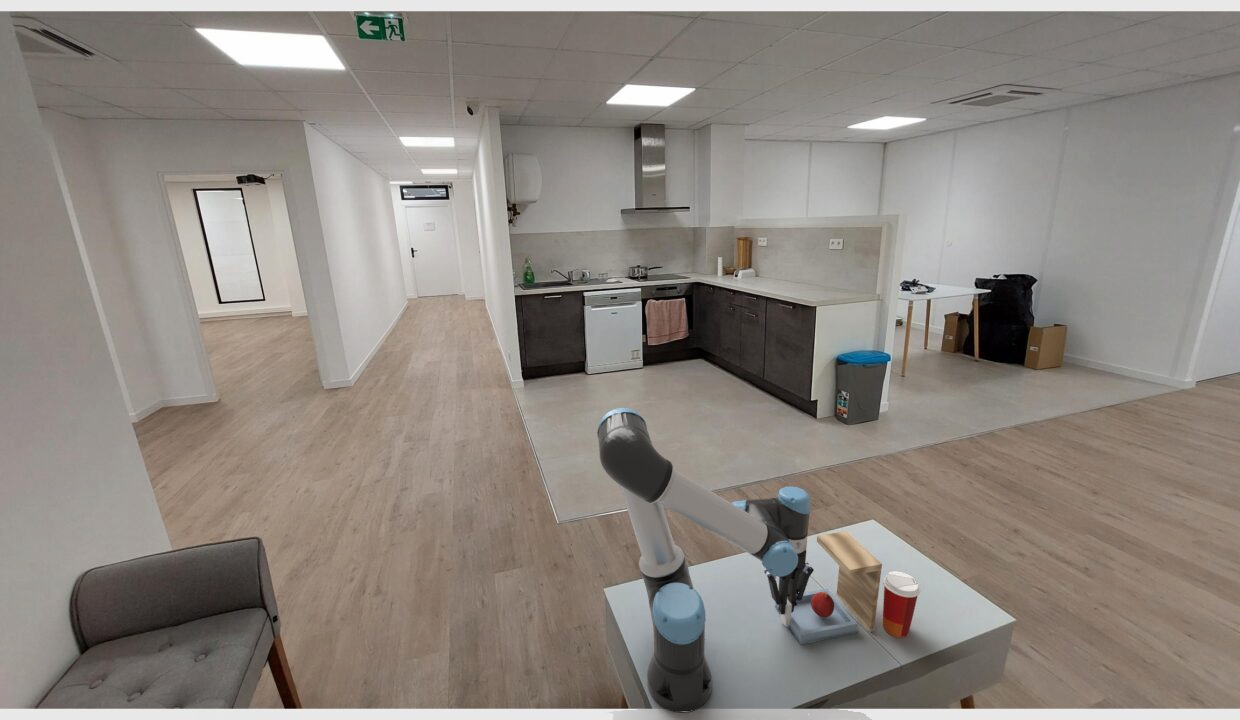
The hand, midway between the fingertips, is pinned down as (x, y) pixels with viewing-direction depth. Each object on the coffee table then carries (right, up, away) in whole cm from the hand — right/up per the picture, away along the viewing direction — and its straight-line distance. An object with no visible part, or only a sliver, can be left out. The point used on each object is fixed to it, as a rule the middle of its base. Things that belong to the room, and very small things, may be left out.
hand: (785, 621), depth 129 cm
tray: (+9, 0, +2) cm, 9 cm away
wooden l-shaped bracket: (+17, 0, +3) cm, 17 cm away
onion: (+10, +1, +2) cm, 10 cm away
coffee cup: (+28, -1, -2) cm, 28 cm away
